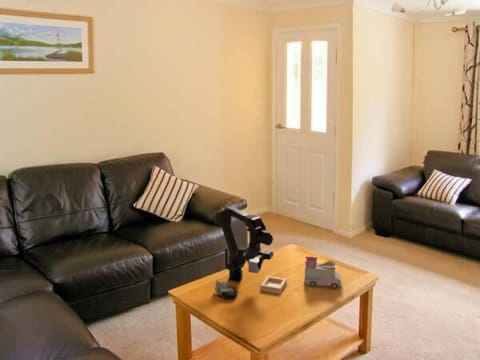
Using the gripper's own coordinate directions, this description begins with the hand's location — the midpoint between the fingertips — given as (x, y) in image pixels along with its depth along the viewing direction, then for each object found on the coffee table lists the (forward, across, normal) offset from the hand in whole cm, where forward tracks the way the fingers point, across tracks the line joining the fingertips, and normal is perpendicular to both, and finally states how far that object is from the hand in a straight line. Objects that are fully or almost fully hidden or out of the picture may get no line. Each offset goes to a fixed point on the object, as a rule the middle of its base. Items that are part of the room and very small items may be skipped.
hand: (255, 268), depth 248 cm
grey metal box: (+1, 0, 0) cm, 1 cm away
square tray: (+11, +9, +5) cm, 15 cm away
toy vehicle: (+12, +32, +17) cm, 38 cm away
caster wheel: (+12, -11, -13) cm, 21 cm away
